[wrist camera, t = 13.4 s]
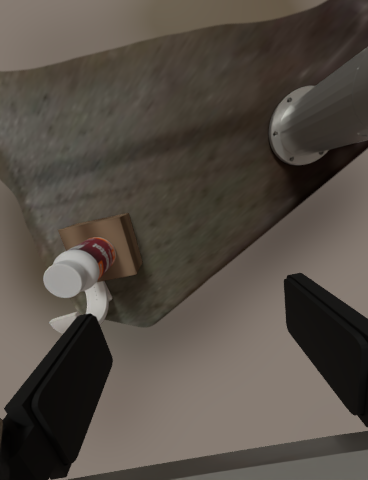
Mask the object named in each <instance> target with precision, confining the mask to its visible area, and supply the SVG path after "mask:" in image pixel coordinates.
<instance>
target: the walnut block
mask: <svg viewBox="0 0 368 480" xmlns="http://www.w3.org/2000/svg"><path fill="white" fill-rule="evenodd" d="M58 231H59V234H60V236H61V239H62V241H63V244H64V246H65V249H66V251H67V250H69V249H71V248H73V247H74V246H76V245H78V244H80V243H82V242H84V241H86V240H88V239H90V238H93V237H100V238H104V239H106V240H108V241H109V242H110V243H111V244H112V245H113V247H114V248H115V251H116V258H115V261H114V263H113V264H112V266H111V267H110V268H109V269H108V270H107V271H106V272H105V273H104V274H103V276H102V277H101V278H100V279H99V280H98V281H97V282H101V281H106V280H111V279H116V278H121V277H126V276H131V275H136V274H137V272H138V270H139V268H140V266H141V264H142V258H141V255H140V251H139V248H138V244H137V241H136V237H135V234H134V230H133V227H132V223H131V220H130V216H129V213H126V214H122V215H117V216H112V217H107V218H102V219H98V220H93V221H88V222H83V223H78V224H75V225H72V226H69V227H66V228H63V229H60V230H58Z"/></svg>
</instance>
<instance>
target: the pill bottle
mask: <svg viewBox="0 0 368 480" xmlns="http://www.w3.org/2000/svg"><path fill="white" fill-rule="evenodd" d="M115 258H116V251H115V248H114V247H113V245H112V244H111V243H110V242H109V241H108V240H106V239H104V238H100V237H93V238H90V239H88V240H86V241H84V242H82V243H80V244H78V245H76V246H74V247H73V248H71V249H69V250H67V251H65V252H63V253H62V254H60V255H59V256H58V257H57V258H56V259H55V261H54V263H53V265H52V266H50V267H49V268H48V269H47V270H46V271H45V273H44V284H45V286H46V288H47V289H48V290H49V291H50V292H51V293H52V294H54V295H55V296H58V297H62V298H70V297H73V296H75V295H77V294H78V293H79V292H80V291H85V290H87V289H89V288H91V287H92V286H93V285H94V284H95V283H96V282H97V281H98V280H99V279H100V278H101V277H102V276H103V274H104V273H105V272H106V271H107V270H108V269H109V268H110V267H111V266H112V264H113V263H114V261H115Z"/></svg>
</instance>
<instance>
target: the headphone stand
mask: <svg viewBox="0 0 368 480" xmlns="http://www.w3.org/2000/svg"><path fill="white" fill-rule="evenodd" d="M85 293H86V297H87V311H86V314H89V313H90V314H92V315H93V316H96V317H97V320H98V322H99V325H100V324H101V323H102V322H103V321H104V319H105V317H106V315H107V311H108V305H109V301H110V300H112V296H111V293H110V291H109V289H108V287H107V285H106V283H105V281H101V282H96V283H95V284H94V285H93V286H92V287H91V288H89V289H87V290H85ZM77 316H79V313H78V312H75V313H71V314H68V315H64V316H61V317H58V318H54V319H52V320H51V321H50V322H49V323H50V325H51V326H52V327H53V328H54V329H55V330H56V331H58V332H60V333H62V334H64V332H65V331H66V330H67V329H68V327H69V326H70V325H71V324H72V322H73V321H74V320H75V319H76V317H77Z"/></svg>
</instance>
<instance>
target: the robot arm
mask: <svg viewBox="0 0 368 480" xmlns="http://www.w3.org/2000/svg"><path fill="white" fill-rule="evenodd" d="M273 134H274V136H273ZM365 140H368V47H367V48H366V49H364V50H363V51H362V52H360V53H359V54H358V55H356V56H355V57H354V58H352V59H351V60H350V61H348V62H347V63H346V64H344V65H343V66H342V67H340V68H339V69H338V70H336V71H335V72H334V73H332V74H331V75H330V76H328V77H327V78H326V79H324V80H323V81H322V82H320V83H319V84H318V85H316V86H306V87H302V88H299V89H297V90H295V91H293V92H292V93H290V94H289V95H288V96H286V97H285V98H284V99H283V100H282V101H281V102H280V104H279V105H278V106H277V108H276V109H275V111H274V113H273V115H272V118H271V121H270V125H269V141H270V145H271V148H272V150H273V152H274V153H275V155H276V156H277V157H278V158H279V159H280V160H281V161H283V162H285V163H287V164H290V165H297V166H298V165H305V164H310V163H312V162H314V161H316V160H318V159H320V158H321V157H322V156H324V155H325V154H326V153H327V152H328V151H329V150H330V149H334V148H338V147H342V146H345V145H349V144H353V143H357V142H361V141H365ZM289 158H290V160H289ZM284 292H285V308H286V324H287V328H288V331H289V333H290V334H291V335H292V337H293V338H294V339H295V341H296V342H297V343H298V345H299V346H300V347H301V349H302V350H303V351H304V352H305V354H306V355H307V356H308V358H309V359H310V360H311V362H312V363H313V364H314V366H315V367H316V368H317V370H318V371H319V372H320V374H321V375H322V376H323V377H324V379H325V380H326V381H327V383H328V384H329V385H330V387H331V388H332V389H333V391H334V392H335V393H336V394H337V396H338V397H339V398H340V400H341V401H342V402H343V404H344V405H345V406H346V408H347V409H348V410H349V411H350V412H351V413H352V414H353V415H358V417H359V418H360V419H361V420H362V422H363V423H364V424H365V426H366V427H368V319H367V318H366V317H364V316H363V315H361V314H360V313H358V312H357V311H356V310H354V309H353V308H351V307H350V306H348V305H347V304H346V303H344V302H343V301H341V300H340V299H338V298H337V297H335V296H334V295H333V294H331V293H330V292H328V291H327V290H325V289H324V288H322V287H321V286H320V285H318V284H317V283H315V282H314V281H312V280H311V279H309V278H308V277H307V276H305V275H304V274H302V273H297V274H292V275H288V276H287V279H284ZM112 362H113V359H112V355H111V353H110V351H109V348H108V345H107V343H106V340H105V338H104V335H103V332H102V330H101V327H100V325H99V322H98V320H97V317H96V316H93V315H92V314H90V313H89V314H84V315H79V316H77V317H76V319H75V320H74V321H73V322H72V324H71V325H70V326H69V327H68V329H67V330H66V331H65V332H64V334H63V335H62V336H61V337H60V339H59V340H58V341H57V342H56V344H55V345H54V346H53V347H52V349H51V350H50V351H49V353H48V354H47V355H46V356H45V357H44V359H43V360H42V361H41V362H40V364H39V365H38V366H37V367H36V369H35V370H34V371H33V373H32V374H31V375H30V376H29V378H28V379H27V380H26V381H25V383H24V384H23V385H22V386H21V388H20V389H19V390H18V391H17V393H16V394H15V395H14V396H13V398H12V399H11V400H10V402H9V403H8V404H7V405H6V407H5V408H4V409H5V411H6V412H7V415H6V417H5V418H4V419H3V420H2V419H1V418H0V480H48V479H49V477H50V479H51V480H52V479H58V478H64V477H66V476H67V474H68V471H69V469H70V467H71V464H72V463H73V462H74V461H75V460H76V458H77V456H78V454H79V451H80V449H81V446H82V443H83V441H84V438H85V435H86V433H87V430H88V428H89V425H90V422H91V420H92V417H93V414H94V412H95V409H96V406H97V404H98V401H99V399H100V396H101V393H102V391H103V388H104V385H105V382H106V380H107V377H108V374H109V372H110V369H111V367H112ZM68 480H368V431H364V432H357V433H350V434H342V435H335V436H329V437H322V438H316V439H310V440H303V441H297V442H291V443H284V444H278V445H272V446H265V447H259V448H253V449H247V450H240V451H235V452H228V453H222V454H217V455H211V456H204V457H199V458H192V459H186V460H180V461H174V462H168V463H162V464H156V465H150V466H144V467H138V468H132V469H126V470H120V471H115V472H109V473H104V474H97V475H91V476H86V477H81V478H74V479H68Z"/></svg>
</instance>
